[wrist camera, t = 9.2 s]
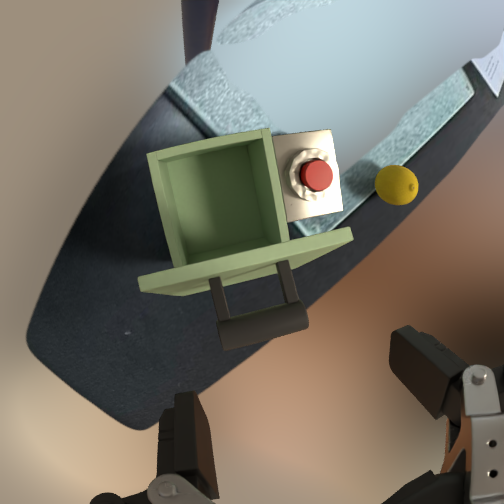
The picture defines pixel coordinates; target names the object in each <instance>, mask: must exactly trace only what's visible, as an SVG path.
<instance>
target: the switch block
mask: <svg viewBox="0 0 504 504" xmlns="http://www.w3.org/2000/svg"><path fill="white" fill-rule="evenodd" d="M271 138H272V143H273V148H274V153H275V159H276V164H277V169H278V175H279V181H280V186H281V192H282V198H283V203H284V209H285V215H286V221H287V223H289V222H293V221H298V220H302V219H307V218H311V217H316V216H320V215H325V214H330V213H334V212H339V211H343V206H342V198H341V190H340V183H339V179H340V176H339V170H338V165H337V163H336V157H335V151H334V145H333V139H332V134H331V129H326V130H317V131H308V132H300V133H292V134H285V135H278V136H272V137H271ZM312 160H322V161H325V162H326V163H328V164H329V165H330V166H331V168H332V171H333V181H332V183H331V185H330V186H329V187H328V188H327V189H325V190H321V191H318V190H313V189H309V188H307V187H306V186H305V185H304V184H303V182H302V180H301V169H302V167H303V166H304V165H305V164H306V163H307V162H309V161H312Z"/></svg>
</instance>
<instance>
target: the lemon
mask: <svg viewBox="0 0 504 504" xmlns="http://www.w3.org/2000/svg"><path fill="white" fill-rule="evenodd" d="M375 189H376V192H377V193H378V195H379V196H380V197H381V198H382V199H383V200H384V201H386V202H387V203H390V204H394V205H403V204H407V203H409V202H411V201H412V200H413V199H414V198H415V196H416V194H417V192H418V181H417V179H416V177H415V175H414V174H413V173H412V172H411V171H410V170H409V169H407V168H405V167H403V166H399V165H390V166H386V167H384V168H383V169H381V170H380V171H379V172H378V174H377V176H376V179H375Z"/></svg>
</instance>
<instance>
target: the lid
mask: <svg viewBox="0 0 504 504" xmlns="http://www.w3.org/2000/svg"><path fill="white" fill-rule="evenodd" d="M352 240H353V236H352V233H351V229H350V227H345V228H341V229H337V230H332V231H328V232H324V233H320V234H315V235H311V236H307V237H303V238H299V239H294V240H290V241H286V242H282V243H277V244H273V245H269V246H265V247H261V248H256V249H252V250H248V251H244V252H240V253H235V254H231V255H227V256H223V257H219V258H215V259H210V260H206V261H202V262H198V263H194V264H189V265H185V266H181V267H177V268H173V269H169V270H164V271H160V272H156V273H152V274H148V275H144V276H139V277H138V283H139V287H140V291H141V292H149V293H158V294H167V295H176V296H185V295H189V294H193V293H198V292H202V291H206V290H210V289H211V293H212V297H213V301H214V305H215V309H216V313H217V317H218V320H217V321H216V324H217V329H218V334H219V338H220V341H221V345H222V348H223V350H224V351H227V350H231V349H235V348H239V347H243V346H247V345H251V344H255V343H259V342H262V341H266V340H270V339H273V338H277V337H281V336H284V335H287V334H291V333H294V332H298V331H301V330H304V329H307V328H308V326H309V320H308V315H307V311H306V308H305V306H304V304H303V302H302V301H301V300H299V298H298V294H297V291H296V287H295V283H294V279H293V275H292V271H291V269H295V268H297V267H299V266H301V265H303V264H305V263H307V262H309V261H312V260H314V259H316V258H318V257H320V256H322V255H324V254H326V253H328V252H330V251H332V250H334V249H336V248H338V247H340V246H342V245H344V244H346V243H348V242H350V241H352ZM275 273H278V276H279V280H280V284H281V288H282V292H283V296H284V300H285V303H284V304H280V305H277V306H273V307H269V308H265V309H261V310H258V311H254V312H250V313H246V314H242V315H238V316H234V317H230V313H229V310H228V306H227V302H226V298H225V294H224V290H223V286H227V285H231V284H235V283H239V282H243V281H247V280H251V279H255V278H259V277H263V276H267V275H271V274H275Z"/></svg>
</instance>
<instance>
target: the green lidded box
mask: <svg viewBox="0 0 504 504" xmlns="http://www.w3.org/2000/svg"><path fill="white" fill-rule="evenodd" d="M147 159H148V164H149V169H150V173H151V178H152V183H153V187H154V191H155V196H156V200H157V204H158V208H159V212H160V216H161V220H162V224H163V228H164V232H165V236H166V240H167V244H168V247H169V251H170V255H171V258H172V262H173V265H174V268H177V267H181V266H185V265H189V264H194V263H198V262H202V261H206V260H210V259H215V258H219V257H223V256H227V255H231V254H235V253H240V252H244V251H248V250H252V249H256V248H261V247H265V246H269V245H273V244H277V243H282V242H286V241H290V240H289V233H288V227H287V221H286V215H285V209H284V203H283V198H282V192H281V186H280V181H279V175H278V169H277V164H276V159H275V153H274V148H273V143H272V138H271V133H270V128H265V129H261V130H260V129H259V130H253V131H247V132H241V133H235V134H230V135H225V136H219V137H214V138H210V139H205V140H200V141H196V142H191V143H187V144H182V145H178V146H174V147H170V148H166V149H162V150H158V151H156V152H155V151H154V152H151V153H147Z"/></svg>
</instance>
